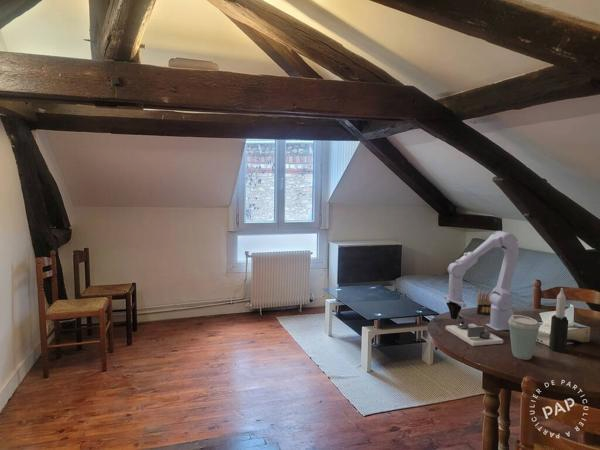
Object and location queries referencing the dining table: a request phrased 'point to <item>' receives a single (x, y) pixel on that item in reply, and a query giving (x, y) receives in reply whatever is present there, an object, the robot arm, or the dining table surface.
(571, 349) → the dining table surface
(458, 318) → the knob
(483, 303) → the ammunition clip
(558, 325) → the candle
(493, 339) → the base
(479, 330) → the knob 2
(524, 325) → the disposable coffee cup
